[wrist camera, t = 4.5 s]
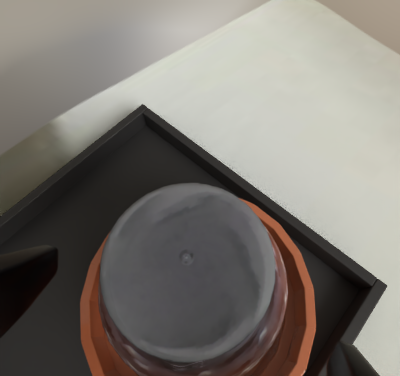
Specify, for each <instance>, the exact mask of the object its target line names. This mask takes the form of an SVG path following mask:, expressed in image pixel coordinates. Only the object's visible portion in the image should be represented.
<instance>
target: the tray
mask: <svg viewBox="0 0 400 376" xmlns="http://www.w3.org/2000/svg"><path fill="white" fill-rule="evenodd" d="M179 183H200V184H207V185H211V186H215V187H219V188H222V189H224V190H226V191H228V192H230V193H232V194H233V195H235V196H236V197H238V198H240V199H243V200H245V201H248V202H250V203H253V204H254V205H256V206H257V207H258V208H260V209H261V210H262V211H264V212H265V213H266V214H267V215H269V216H270V217H271V218H273V219H274V220H275V221H277V222H278V223H279V224H280V225H281V226H282V228H283V229H284V230H285V232H286V233H287V234H288V236H289V237H290V239H291V240H292V241H293V243H294V244H295V245H296V247H297V248H298V249H299V251H300V253H301V255H302V257H303V260H304V263H305V265H306V268H307V271H308V274H309V276H310V279H311V282H312V284H313V288H314V299H315V315H316V332H315V336H314V340H313V344H312V348H311V352H310V356H309V360H308V364H307V368H306V370H305V373H304V374H303V376H327V374H326V366H327V361H328V359H329V357H330V355H331V353H332V350H333V348H334V346H335V344H336V343H337V342H338V341H343V342H346V343H349V344H353V343H354V341H355V339H356V338H357V336H358V334H359V333H360V331H361V329H362V328H363V326H364V324H365V323H366V321H367V319H368V318H369V316H370V314H371V313H372V311H373V309H374V308H375V306H376V304H377V303H378V301H379V299H380V298H381V296H382V294H383V293H384V291H385V289H386V288H387V285H386V284H384V283H383V282H382V281H380V280H379V279H377V278H376V277H375V276H374V275H372V274H371V273H370V272H368V271H367V270H366V269H364V268H363V267H362V266H360V265H359V264H358V263H356V262H355V261H353V260H352V259H351V258H349V257H348V256H347V255H345V254H344V253H343V252H341V251H340V250H339V249H337V248H336V247H335V246H333V245H332V244H331V243H329V242H328V241H326V240H325V239H324V238H322V237H321V236H320V235H318V234H317V233H316V232H314V231H313V230H312V229H310V228H309V227H308V226H306V225H305V224H304V223H302V222H301V221H300V220H298V219H297V218H295V217H294V216H293V215H291V214H290V213H289V212H287V211H286V210H285V209H283V208H282V207H281V206H279V205H278V204H277V203H275V202H274V201H273V200H271V199H270V198H269V197H267V196H266V195H264V194H263V193H262V192H260V191H259V190H258V189H256V188H255V187H254V186H252V185H251V184H250V183H248V182H247V181H246V180H244V179H243V178H242V177H240V176H239V175H238V174H236V173H235V172H233V171H232V170H231V169H229V168H228V167H227V166H225V165H224V164H223V163H221V162H220V161H219V160H217V159H216V158H215V157H213V156H212V155H211V154H209V153H208V152H206V151H205V150H204V149H202V148H201V147H200V146H198V145H197V144H196V143H194V142H193V141H192V140H190V139H189V138H188V137H186V136H185V135H184V134H182V133H181V132H180V131H178V130H177V129H175V128H174V127H173V126H171V125H170V124H169V123H167V122H166V121H165V120H163V119H162V118H161V117H159V116H158V115H157V114H155V113H154V112H153V111H151V110H150V109H148V108H147V107H146V106H145V105H143V104H142V105H141V106H140V107H138V108H137V109H136V110H135V111H133V112H132V113H131V114H130V115H128V116H127V117H126V118H125V119H123V120H122V121H121V122H119V123H118V124H117V125H116V126H114V127H113V128H112V129H111V130H109V131H108V132H107V133H106V134H104V135H103V136H102V137H100V138H99V139H98V140H97V141H95V142H94V143H93V144H92V145H90V146H89V147H88V148H86V149H85V150H84V151H83V152H81V153H80V154H79V155H78V156H76V157H75V158H74V159H73V160H71V161H70V162H69V163H67V164H66V165H65V166H64V167H62V168H61V169H60V170H59V171H57V172H56V173H55V174H54V175H52V176H51V177H50V178H48V179H47V180H46V181H45V182H43V183H42V184H41V185H40V186H38V187H37V188H36V189H35V190H33V191H32V192H31V193H29V194H28V195H27V196H26V197H24V198H23V199H22V200H21V201H19V202H18V203H17V204H15V205H14V206H13V207H12V208H10V209H9V210H8V211H7V212H5V213H4V214H3V215H2V216H0V255H3V254H7V253H11V252H15V251H19V250H23V249H28V248H32V247H36V246H40V245H45V244H47V245H50V246H53V247H56V248H57V249H58V270H57V273H56V275H55V276H54V278H53V279H52V280H51V281H50V283H49V284H48V285H47V286H46V288H45V289H44V290H43V291H42V292H41V294H40V295H39V296H38V297H37V299H36V300H35V301H34V302H33V304H32V305H31V306H30V307H29V309H28V310H27V311H26V312H25V313H24V314H23V316H22V317H21V318H20V319H19V320H18V321H17V322H16V323H15V324H14V325H13V326H12V327H11V328H10V329H9V330H8V331H7V332H6V333H5V334H4V335H3V336H2V338H1V339H0V376H92V373H91V370H90V367H89V364H88V361H87V358H86V355H85V352H84V349H83V346H82V343H81V324H80V301H81V300H80V299H81V295H82V292H83V288H84V284H85V281H86V277H87V273H88V270H89V266H90V264H91V261H92V260H93V258H94V256H95V255H96V253H97V252H98V250H99V248H100V247H101V245H102V243H103V242H104V240H105V238H106V237H107V235H108V234H109V232H110V231H111V230H112V228H113V226H114V225H115V224H116V222H117V220H118V219H119V217H120V216H121V215H122V214H123V213H124V212H125V210H126V209H128V208H129V207H130V206H131V205H132V204H133V203H135V202H136V201H137V200H138V199H140V198H142V197H143V196H145V195H146V194H148V193H150V192H152V191H154V190H156V189H159V188H161V187H164V186H168V185H172V184H179Z"/></svg>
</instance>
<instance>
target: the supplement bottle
mask: <svg viewBox="0 0 400 376" xmlns="http://www.w3.org/2000/svg"><path fill="white" fill-rule="evenodd" d="M287 296H288V287H287V275H286V269H285V265H284V262H283V259H282V256H281V253H280V251H279V248H278V246H277V244H276V243H275V241H274V239H273V237H272V236H271V234H270V233H269V231H268V230H267V229H266V227H265V226H264V225H263V224H262V222H261V220H260V219H259V217H258V216H257V215H256V214H255V213H254V211H253V210H252V209H251V208H250V207H249V206H248V205H247V204H246V203H245V202H243V201H242V200H240V199H239V198H238V197H236V196H235V195H233V194H232V193H230V192H228V191H226V190H224V189H222V188H219V187H215V186H211V185H207V184H200V183H179V184H172V185H168V186H164V187H161V188H159V189H156V190H154V191H152V192H150V193H148V194H146V195H145V196H143V197H142V198H140V199H138V200H137V201H136V202H135V203H133V204H132V205H131V206H130V207H129V208H128V209H126V210H125V212H124V213H123V214H122V215H121V216H120V217H119V219H118V220H117V222H116V224H115V225H114V226H113V228H112V230H111V231H110V233H109V235H108V238H107V240H106V242H105V245H104V248H103V251H102V256H101V261H100V277H99V286H98V305H99V312H100V317H101V321H102V326H103V328H104V330H105V333H106V335H107V337H108V341H109V342H110V344H111V345H112V347H113V348H114V350H115V351H116V353H117V354H118V355H119V357H120V358H121V359H122V360H123V361H124V363H125V364H126V365H128V366H129V367H130V368H131V369H132V370H133V371H134V372H135V373H136V374H138V375H139V376H243V375H244V374H246V373H247V372H249V371H250V370H251V369H252V368H253V367H255V366H256V365H257V364H258V363H259V362H260V361H261V360H262V358H263V357H264V356H265V354H266V353H267V351H268V350H269V349H270V348H271V346H272V345H273V343H274V341H275V338H276V337H277V335H278V333H279V330H280V328H281V325H282V322H283V319H284V315H285V310H286V305H287Z"/></svg>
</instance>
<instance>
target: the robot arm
mask: <svg viewBox="0 0 400 376" xmlns="http://www.w3.org/2000/svg"><path fill="white" fill-rule="evenodd" d="M57 270H58V249H57V248H56V247H53V246H50V245H47V244H45V245H40V246H36V247H32V248H28V249H23V250H19V251H15V252H11V253H7V254H3V255H0V339H1V338H2V336H3V335H4V334H5V333H6V332H7V331H8V330H9V329H10V328H11V327H12V326H13V325H14V324H15V323H16V322H17V321H18V320H19V319H20V318H21V317H22V316H23V314H24V313H25V312H26V311H27V310H28V309H29V307H30V306H31V305H32V304H33V302H34V301H35V300H36V299H37V297H38V296H39V295H40V294H41V292H42V291H43V290H44V289H45V288H46V286H47V285H48V284H49V283H50V281H51V280H52V279H53V278H54V276H55V275H56V273H57ZM326 374H327V376H380V375H379V374H378V373H377V372H376V371H375V370H374V368H373V367H372V366H371V365H370V364H369V362H368V361H367V360H366V359H365V358H364V356H363V355H362V354H361V353H360V352H359V350H358V349H357V348H356V347H355V346H354V345H352V344H349V343H346V342H343V341H338V342H337V343H336V344H335V346H334V348H333V350H332V353H331V355H330V357H329V359H328V361H327V366H326Z"/></svg>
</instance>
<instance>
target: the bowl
mask: <svg viewBox="0 0 400 376" xmlns="http://www.w3.org/2000/svg"><path fill="white" fill-rule="evenodd" d="M239 199H240V198H239ZM240 200H242V201H243V202H245V203H246V204H247V205H248V206H249V207H250V208H251V209H252V210H253V211H254V213H255V214H256V215H257V216H258V217H259V219H260V220H261V222H262V224H263V225H264V226H265V227H266V229H267V230H268V231H269V233H270V234H271V236H272V237H273V239H274V241H275V243H276V244H277V246H278V248H279V251H280V253H281V256H282V259H283V262H284V265H285V269H286V275H287V287H288V296H287V305H286V310H285V315H284V319H283V322H282V325H281V328H280V330H279V333H278V335H277V337H276V338H275V341H274V343H273V345H272V346H271V348H270V349H269V350H268V351H267V353H266V354H265V356H264V357H263V358H262V360H261V361H260V362H259V363H258V364H257V365H256V366H255V367H253V368H252V369H251V370H250V371H249V372H247V373H246V374H244V375H243V376H303V374H304V373H305V370H306V368H307V364H308V360H309V356H310V352H311V348H312V344H313V340H314V336H315V332H316V315H315V299H314V288H313V284H312V282H311V279H310V276H309V274H308V271H307V268H306V265H305V263H304V260H303V257H302V255H301V253H300V251H299V249H298V248H297V247H296V245H295V244H294V243H293V241H292V240H291V239H290V237H289V236H288V234H287V233H286V232H285V230H284V229H283V228H282V226H281V225H280V224H279V223H278V222H277V221H275V220H274V219H273V218H271V217H270V216H269V215H267V214H266V213H265V212H264V211H262V210H261V209H260V208H258V207H257V206H256V205H254V204H253V203H250V202H248V201H245V200H243V199H240ZM109 233H110V232H109ZM108 235H109V234H108ZM108 235H107V237H106V238H105V240H104V242H103V243H102V245H101V247H100V248H99V250H98V252H97V253H96V255H95V256H94V258H93V260H92V261H91V264H90V266H89V270H88V273H87V277H86V281H85V284H84V288H83V292H82V295H81V299H80V300H81V301H80V324H81V343H82V346H83V349H84V352H85V355H86V358H87V361H88V364H89V367H90V370H91V373H92V376H139V375H138V374H136V373H135V372H134V371H133V370H132V369H131V368H130V367H129V366H128V365H126V364H125V363H124V361H123V360H122V359H121V358H120V357H119V355H118V354H117V353H116V351H115V350H114V348H113V347H112V345H111V344H110V342H109V341H108V337H107V335H106V333H105V330H104V328H103V326H102V321H101V317H100V312H99V305H98V286H99V277H100V261H101V256H102V251H103V248H104V245H105V242H106V240H107V238H108Z"/></svg>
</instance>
